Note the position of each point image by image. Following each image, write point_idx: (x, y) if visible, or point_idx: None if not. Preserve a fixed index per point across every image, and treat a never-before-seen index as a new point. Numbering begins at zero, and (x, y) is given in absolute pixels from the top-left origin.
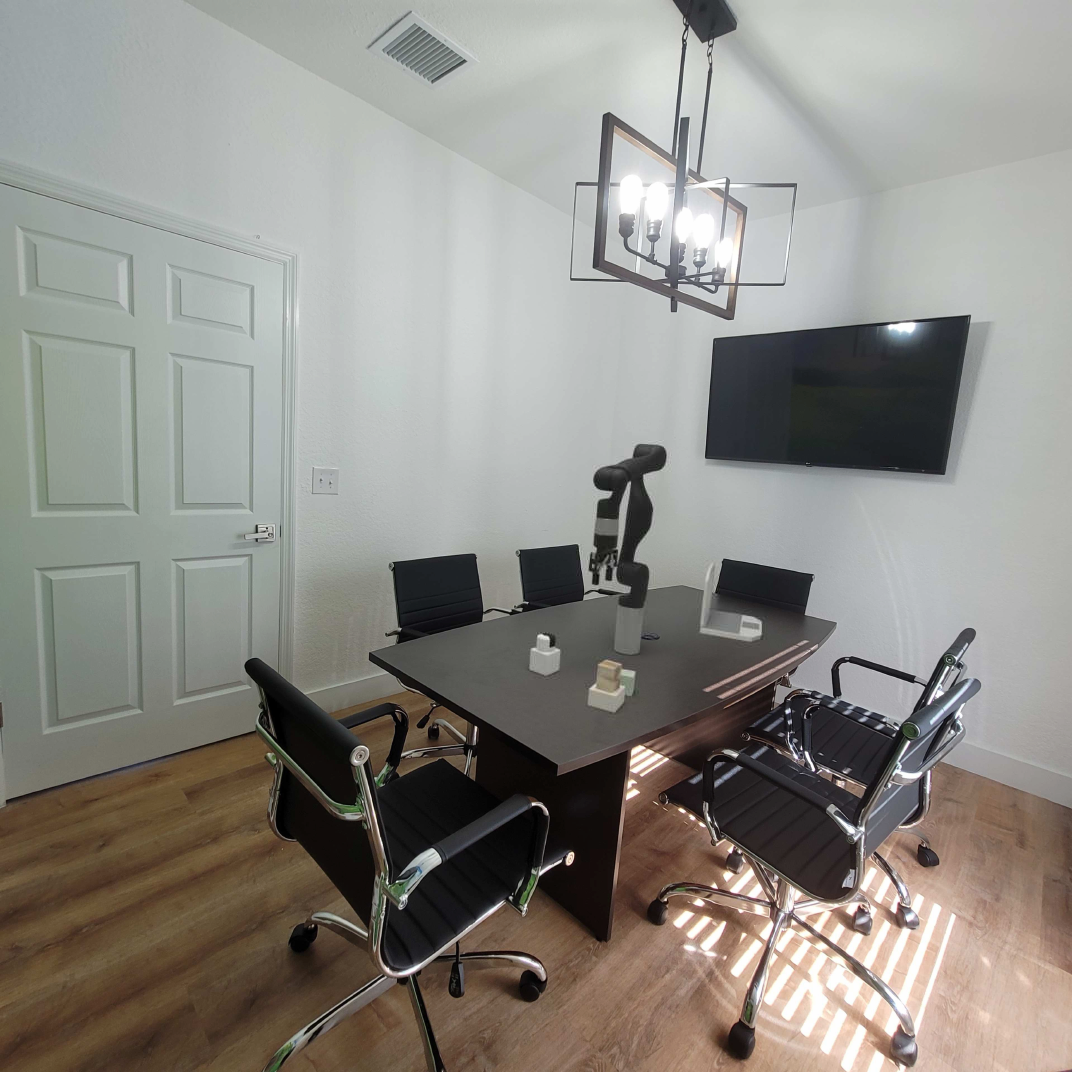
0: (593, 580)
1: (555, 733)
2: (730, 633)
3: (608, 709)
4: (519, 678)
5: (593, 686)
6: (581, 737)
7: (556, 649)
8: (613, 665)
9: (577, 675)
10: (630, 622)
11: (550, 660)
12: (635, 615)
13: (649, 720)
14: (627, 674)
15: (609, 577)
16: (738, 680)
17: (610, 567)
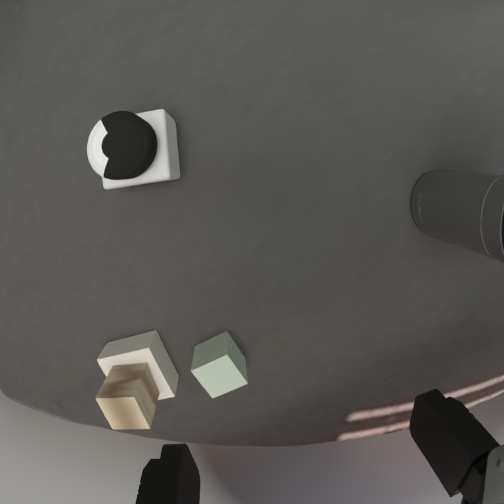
0: (152, 485)
1: (19, 358)
2: None
3: None
4: (69, 161)
5: (113, 358)
6: (44, 387)
7: (155, 172)
8: (126, 421)
9: (196, 230)
10: (471, 241)
11: (125, 186)
12: (492, 256)
13: (165, 426)
14: (214, 383)
15: (424, 441)
16: None
17: (471, 501)
